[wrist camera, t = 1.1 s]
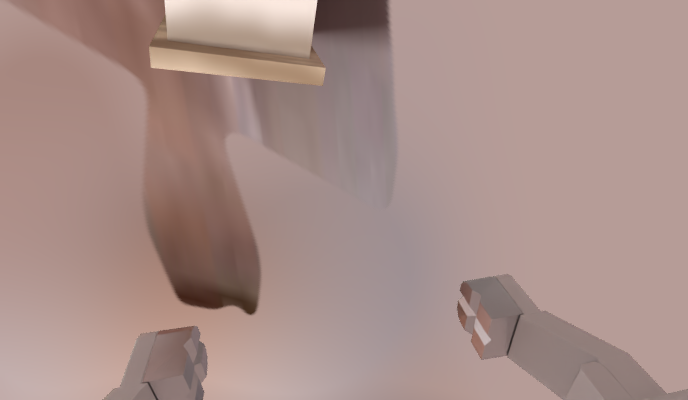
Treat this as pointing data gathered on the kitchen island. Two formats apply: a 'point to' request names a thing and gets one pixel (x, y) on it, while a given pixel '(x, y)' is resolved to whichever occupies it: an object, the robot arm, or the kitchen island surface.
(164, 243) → the kitchen island surface
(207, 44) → the mounted unit
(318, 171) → the kitchen island surface
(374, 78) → the kitchen island surface
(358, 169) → the kitchen island surface
